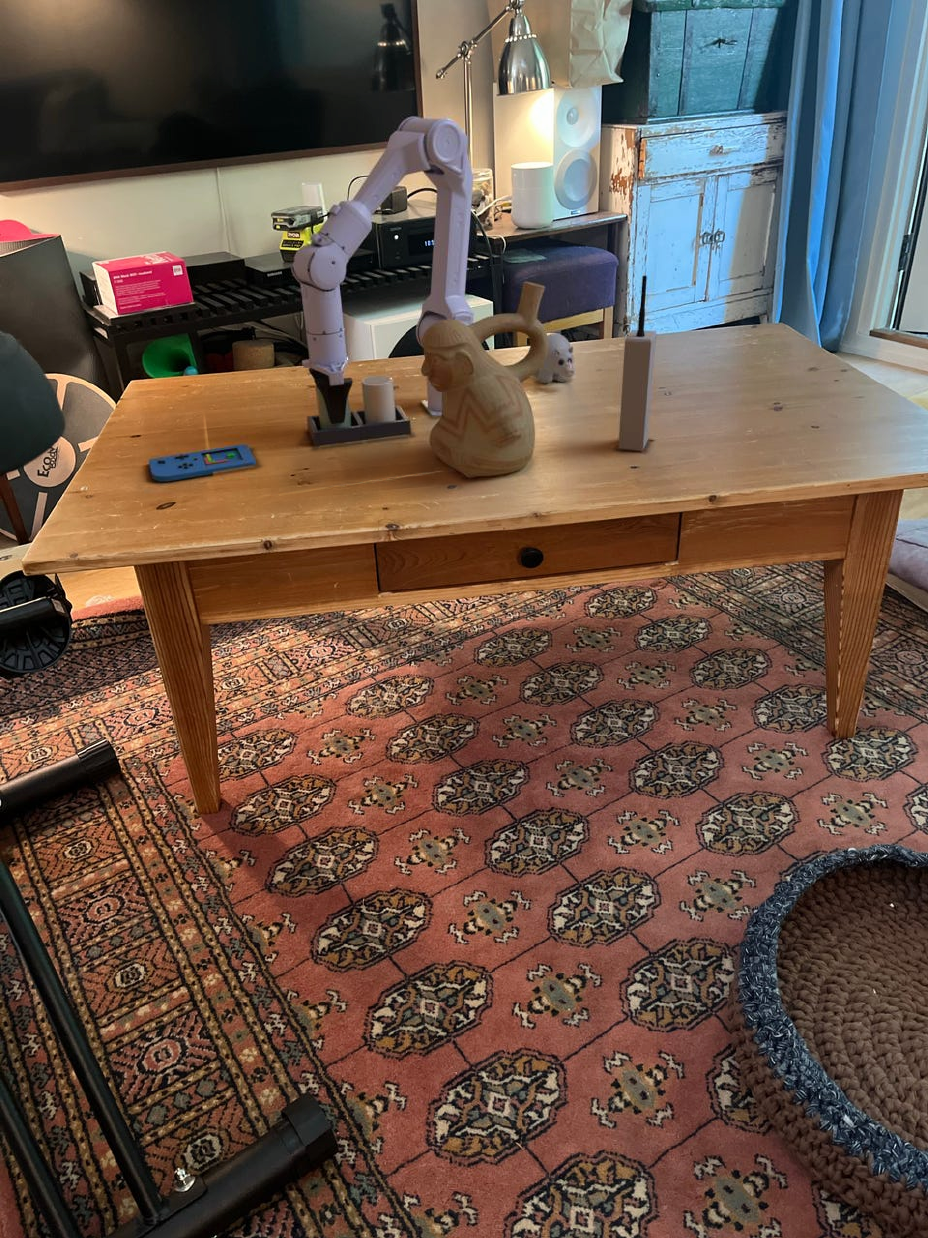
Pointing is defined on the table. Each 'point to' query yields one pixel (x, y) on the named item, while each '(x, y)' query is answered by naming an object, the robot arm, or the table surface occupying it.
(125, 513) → the table surface
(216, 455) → the handheld gaming device
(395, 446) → the table surface
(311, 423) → the cup holder
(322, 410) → the green cup
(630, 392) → the vintage mobile phone
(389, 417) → the cream cup
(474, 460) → the ceramic vessel
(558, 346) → the chubby cartoon animal
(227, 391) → the table surface
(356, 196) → the robot arm
